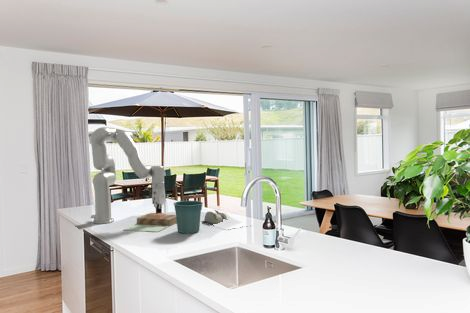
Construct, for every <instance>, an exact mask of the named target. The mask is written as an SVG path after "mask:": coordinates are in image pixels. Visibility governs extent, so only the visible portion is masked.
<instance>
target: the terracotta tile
mask: <svg viewBox="0 0 470 313" xmlns="http://www.w3.org/2000/svg"><path fill="white" fill-rule="evenodd" d="M164 214H165V213H164V212H162V213H156V212H150V213H147V215H146V214H145V215H146V219H162V218H164Z"/></svg>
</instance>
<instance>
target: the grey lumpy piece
mask: <svg viewBox="0 0 470 313" xmlns="http://www.w3.org/2000/svg"><path fill="white" fill-rule="evenodd" d="M214 211H215V213H214V212H213V211H207V212H206V213H205V215H204V220H202V221H201V220H200V223H204V224H206V225H209V224H210V226H212V225H213V224H218V223H220V222H223V219H225V220H228V219H227V215H226V214H224V213H223V212H219V211H218V210H216V209H214ZM212 227H215V226H214V225H213V226H212Z"/></svg>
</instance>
